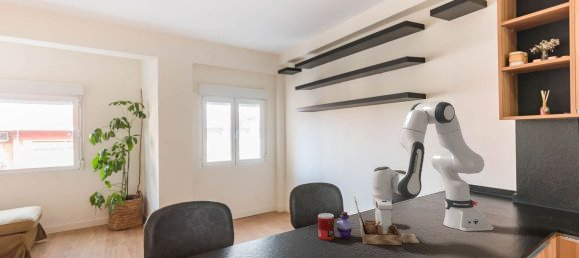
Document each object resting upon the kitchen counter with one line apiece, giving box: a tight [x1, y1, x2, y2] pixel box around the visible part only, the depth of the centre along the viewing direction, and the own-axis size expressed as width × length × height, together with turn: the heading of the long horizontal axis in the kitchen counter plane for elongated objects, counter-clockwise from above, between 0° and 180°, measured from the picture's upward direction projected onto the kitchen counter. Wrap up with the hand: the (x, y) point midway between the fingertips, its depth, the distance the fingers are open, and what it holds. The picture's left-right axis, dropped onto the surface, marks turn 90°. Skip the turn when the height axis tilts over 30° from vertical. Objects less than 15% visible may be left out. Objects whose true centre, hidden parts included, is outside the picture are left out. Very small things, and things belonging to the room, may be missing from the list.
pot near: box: [377, 222, 389, 235], centre depth 138 cm, size 6×6×7 cm
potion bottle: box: [335, 211, 354, 240], centre depth 142 cm, size 9×9×12 cm
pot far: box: [363, 218, 376, 235], centre depth 143 cm, size 6×6×7 cm
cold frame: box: [352, 193, 403, 246], centre depth 139 cm, size 20×15×20 cm
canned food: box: [317, 212, 336, 241], centre depth 141 cm, size 8×8×11 cm
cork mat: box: [400, 233, 420, 244], centre depth 137 cm, size 7×10×1 cm
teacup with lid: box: [374, 206, 393, 225], centre depth 160 cm, size 12×9×12 cm
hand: (382, 230), depth 138 cm, fingers open, 8 cm apart
